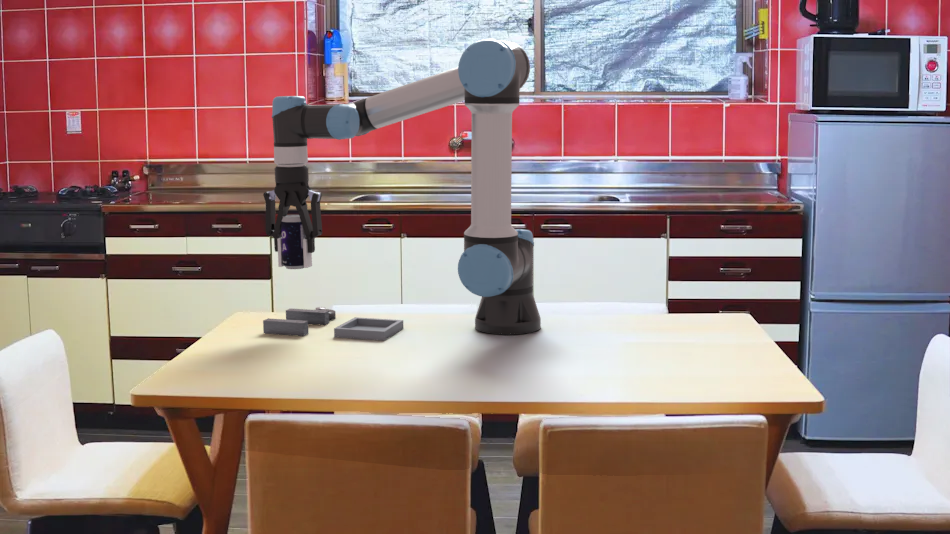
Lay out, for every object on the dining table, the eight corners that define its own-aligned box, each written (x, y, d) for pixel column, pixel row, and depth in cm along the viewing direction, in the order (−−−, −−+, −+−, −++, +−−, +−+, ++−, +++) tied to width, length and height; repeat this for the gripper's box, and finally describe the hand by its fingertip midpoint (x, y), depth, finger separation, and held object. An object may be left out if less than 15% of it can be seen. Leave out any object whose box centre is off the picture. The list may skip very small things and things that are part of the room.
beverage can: (296, 264, 256) (294, 213, 254) (313, 267, 253) (311, 215, 251) (277, 268, 252) (275, 216, 250) (294, 270, 248) (292, 217, 246)
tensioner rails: (342, 316, 267) (341, 304, 266) (303, 336, 247) (303, 323, 246) (304, 314, 270) (304, 302, 269) (263, 333, 250) (263, 320, 249)
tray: (403, 328, 254) (403, 320, 253) (384, 340, 242) (384, 331, 242) (355, 325, 257) (355, 317, 257) (334, 337, 246) (334, 328, 245)
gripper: (336, 164, 249) (339, 265, 253) (261, 163, 255) (266, 262, 258) (322, 166, 242) (325, 270, 246) (246, 165, 247) (250, 267, 251)
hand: (295, 266), depth 252 cm, fingers closed on beverage can, 6 cm apart
